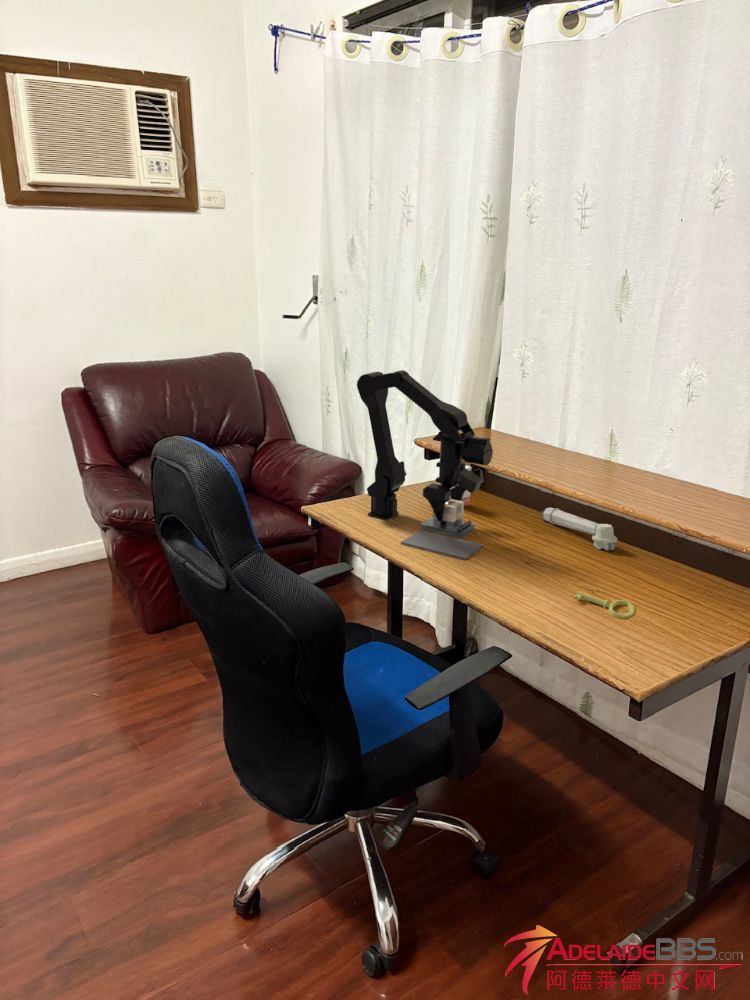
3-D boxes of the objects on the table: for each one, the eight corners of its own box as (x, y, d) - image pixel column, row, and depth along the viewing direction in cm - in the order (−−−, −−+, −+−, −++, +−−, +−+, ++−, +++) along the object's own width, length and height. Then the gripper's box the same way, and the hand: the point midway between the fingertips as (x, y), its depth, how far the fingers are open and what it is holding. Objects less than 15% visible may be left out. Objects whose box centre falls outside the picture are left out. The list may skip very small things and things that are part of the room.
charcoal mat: (400, 544, 183) (400, 541, 182) (420, 532, 191) (420, 530, 190) (466, 560, 174) (466, 558, 173) (483, 547, 182) (483, 544, 182)
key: (573, 598, 156) (574, 589, 156) (633, 606, 153) (635, 597, 153) (572, 613, 150) (573, 604, 149) (635, 622, 147) (637, 613, 146)
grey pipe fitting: (554, 505, 202) (622, 522, 180) (554, 528, 203) (621, 548, 181) (539, 507, 199) (606, 525, 178) (539, 531, 201) (605, 551, 179)
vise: (420, 529, 193) (421, 502, 190) (434, 520, 199) (435, 494, 197) (461, 538, 187) (462, 511, 184) (474, 529, 193) (476, 502, 191)
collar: (432, 517, 191) (433, 503, 190) (443, 511, 196) (443, 497, 195) (453, 522, 188) (454, 507, 187) (463, 515, 193) (464, 501, 192)
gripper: (463, 472, 175) (460, 533, 180) (494, 456, 190) (490, 512, 195) (423, 465, 181) (420, 524, 186) (456, 449, 196) (453, 504, 201)
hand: (447, 516), depth 192 cm, fingers open, 9 cm apart
